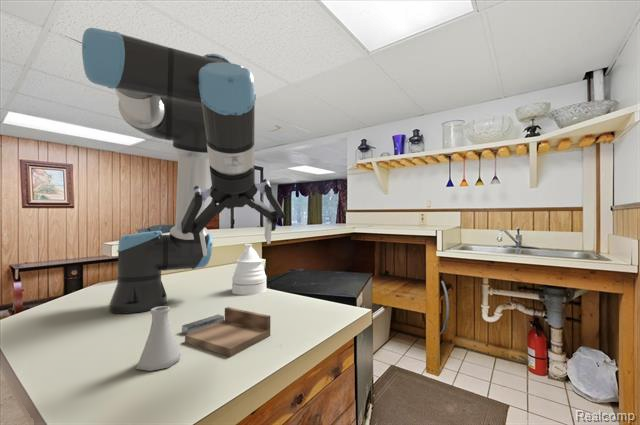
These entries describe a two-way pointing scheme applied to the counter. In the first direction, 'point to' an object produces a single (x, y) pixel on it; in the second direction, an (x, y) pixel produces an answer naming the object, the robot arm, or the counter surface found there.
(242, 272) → the honey pot
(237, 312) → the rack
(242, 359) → the counter surface
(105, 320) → the counter surface
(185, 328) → the grey rectangular bar
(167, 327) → the flask
